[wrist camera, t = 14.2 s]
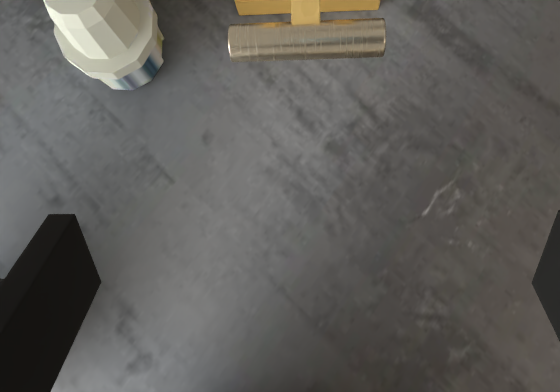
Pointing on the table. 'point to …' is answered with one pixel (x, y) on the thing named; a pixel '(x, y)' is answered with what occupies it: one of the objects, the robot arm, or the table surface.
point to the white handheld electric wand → (109, 39)
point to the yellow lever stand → (259, 3)
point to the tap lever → (307, 37)
